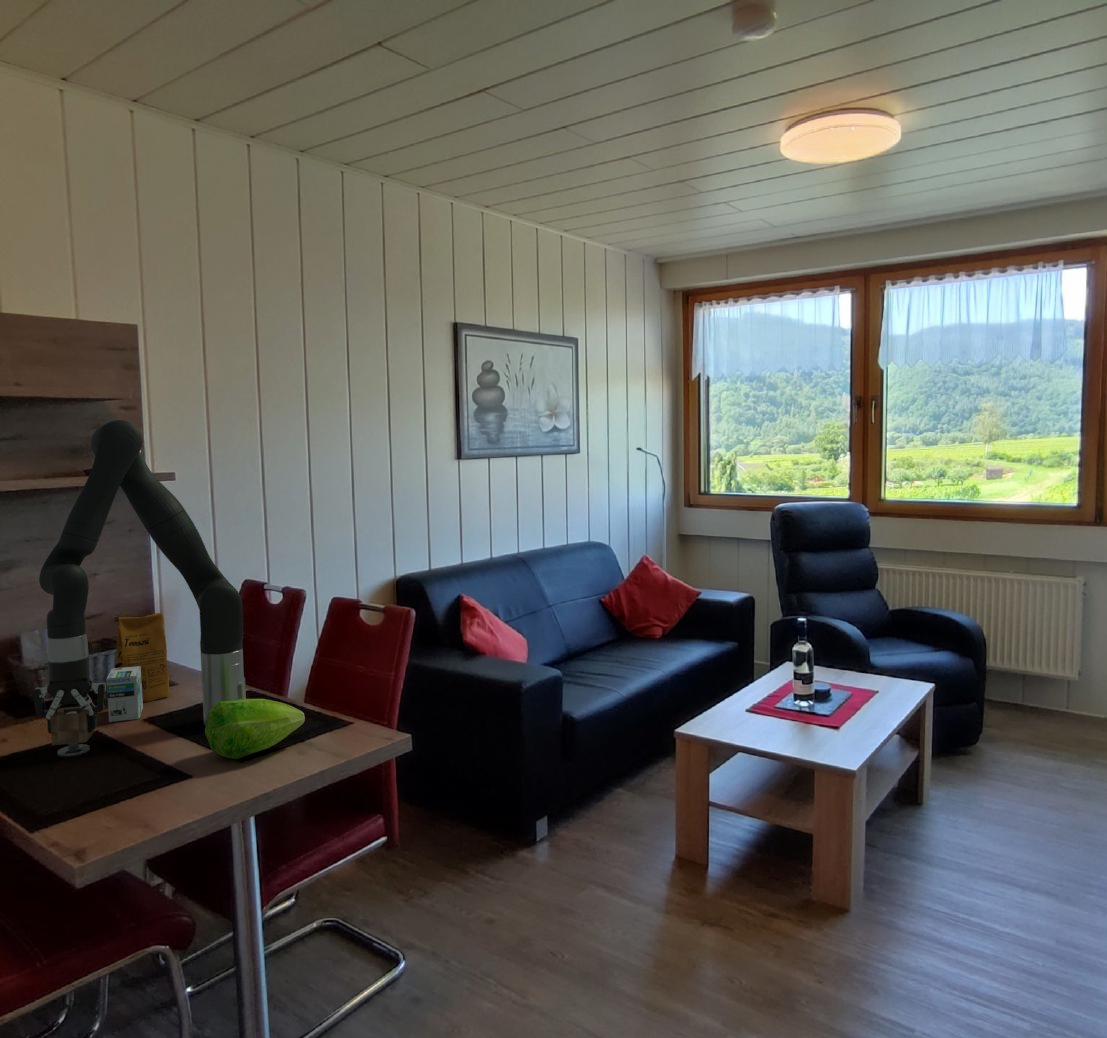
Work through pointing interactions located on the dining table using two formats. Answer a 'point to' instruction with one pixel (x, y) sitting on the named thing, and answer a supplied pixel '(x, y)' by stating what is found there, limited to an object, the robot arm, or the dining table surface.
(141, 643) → the coffee package
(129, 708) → the light bulb box
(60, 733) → the collar
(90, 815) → the dining table surface
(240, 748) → the lettuce
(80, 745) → the post
